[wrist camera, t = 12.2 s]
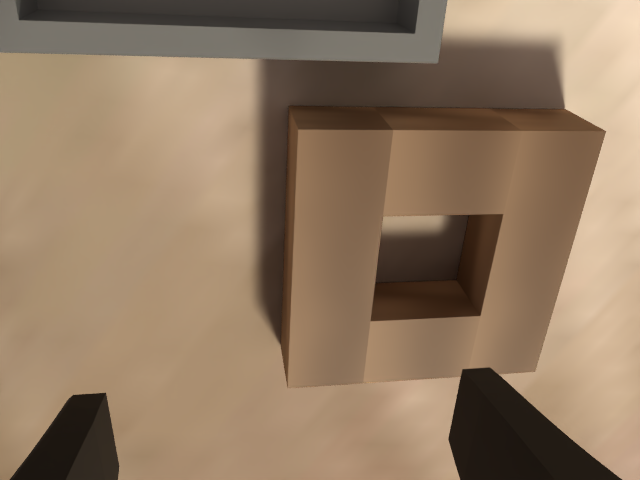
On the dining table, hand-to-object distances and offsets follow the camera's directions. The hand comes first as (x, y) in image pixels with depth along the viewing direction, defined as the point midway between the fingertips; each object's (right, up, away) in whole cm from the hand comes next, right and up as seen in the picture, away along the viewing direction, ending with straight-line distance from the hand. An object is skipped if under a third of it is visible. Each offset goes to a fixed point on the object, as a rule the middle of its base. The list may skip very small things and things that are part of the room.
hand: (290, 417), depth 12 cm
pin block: (+4, +4, +11) cm, 12 cm away
